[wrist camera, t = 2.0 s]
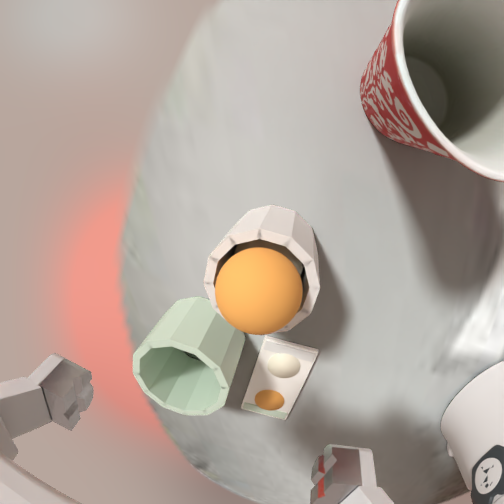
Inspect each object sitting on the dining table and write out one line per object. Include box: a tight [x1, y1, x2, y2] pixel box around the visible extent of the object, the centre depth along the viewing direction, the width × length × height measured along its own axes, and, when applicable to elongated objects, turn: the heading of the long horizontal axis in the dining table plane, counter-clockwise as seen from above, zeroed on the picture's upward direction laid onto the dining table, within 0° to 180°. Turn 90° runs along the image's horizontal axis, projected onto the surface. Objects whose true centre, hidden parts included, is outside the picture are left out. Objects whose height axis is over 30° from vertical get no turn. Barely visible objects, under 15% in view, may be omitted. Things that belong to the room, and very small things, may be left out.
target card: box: [241, 335, 319, 420], centre depth 30 cm, size 5×10×1 cm, turn 167°
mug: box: [360, 0, 504, 182], centre depth 13 cm, size 13×9×14 cm
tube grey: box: [203, 204, 320, 335], centre depth 22 cm, size 7×7×7 cm
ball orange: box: [215, 247, 303, 335], centre depth 19 cm, size 5×5×5 cm
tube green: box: [133, 296, 246, 415], centre depth 26 cm, size 8×8×7 cm
